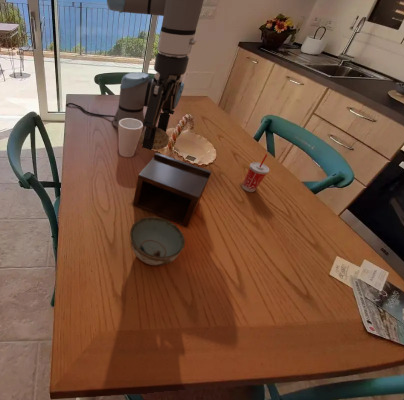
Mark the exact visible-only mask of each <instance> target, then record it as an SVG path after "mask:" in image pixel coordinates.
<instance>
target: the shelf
mask: <svg viewBox="0 0 404 400" xmlns="http://www.w3.org/2000/svg"><path fill="white" fill-rule="evenodd" d="M211 175H212V170H209V169H206V168H203V167H200V166H198V165H194V164H191V163H188V162H186V161H183V160H179V159H176V158H173V157H170V156H168V155H164V154H163V153H159V152H155V153H154V154H153V157H152V158H151V160H150V161H149V162H148V163H147V164H146V166H144V168H143V169H142V170H141V171H140V172H139V173H138V176H137V182H136V186H135V191H134V197H133V200H132V201H133V202H132V205H133V206H135V207H137V208H139V209H142V210H144V211H146V212H149V213H151V214H154V215H155V216H157V217H160V218H163V219H165V220H168V221H170V222H171V223H175V224H176V225H177V224H178V225H180V226H181V227H184V228H188V226H189V224H190V223H191V221H192V219H193V216H194V214H195V211H196V210H197V208H198V205H199V203H200V201H201V199H202V196H203V194H204V192H205V189H206V187H207V184H208V182H209V180H210V177H211Z"/></svg>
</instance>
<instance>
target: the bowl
mask: <svg viewBox="0 0 404 400" xmlns="http://www.w3.org/2000/svg"><path fill="white" fill-rule="evenodd" d="M129 235H130V245H131V248H132V251H133V253H134V254H135V256H136V257H137V258H138V260H140V261H141V262H143V263H145V264H147V265H150V266H153V267H162V266H166V265H169V264H170V263H172V262H173V261H175V260H176V259H177V258H178V257H179V255H180V253H182V251H183V249H184V248H185V245H186V239H185V236H184V233H183V232H182V231H181V229H180V228H179V227H178V226H177V224H174V222H172V221H170V220H168V219H165V218H163V217H160V216H145V217H142V218H140V219H137V221H135V222H134V223H133V224H132V226H131V228H130V232H129Z"/></svg>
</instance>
